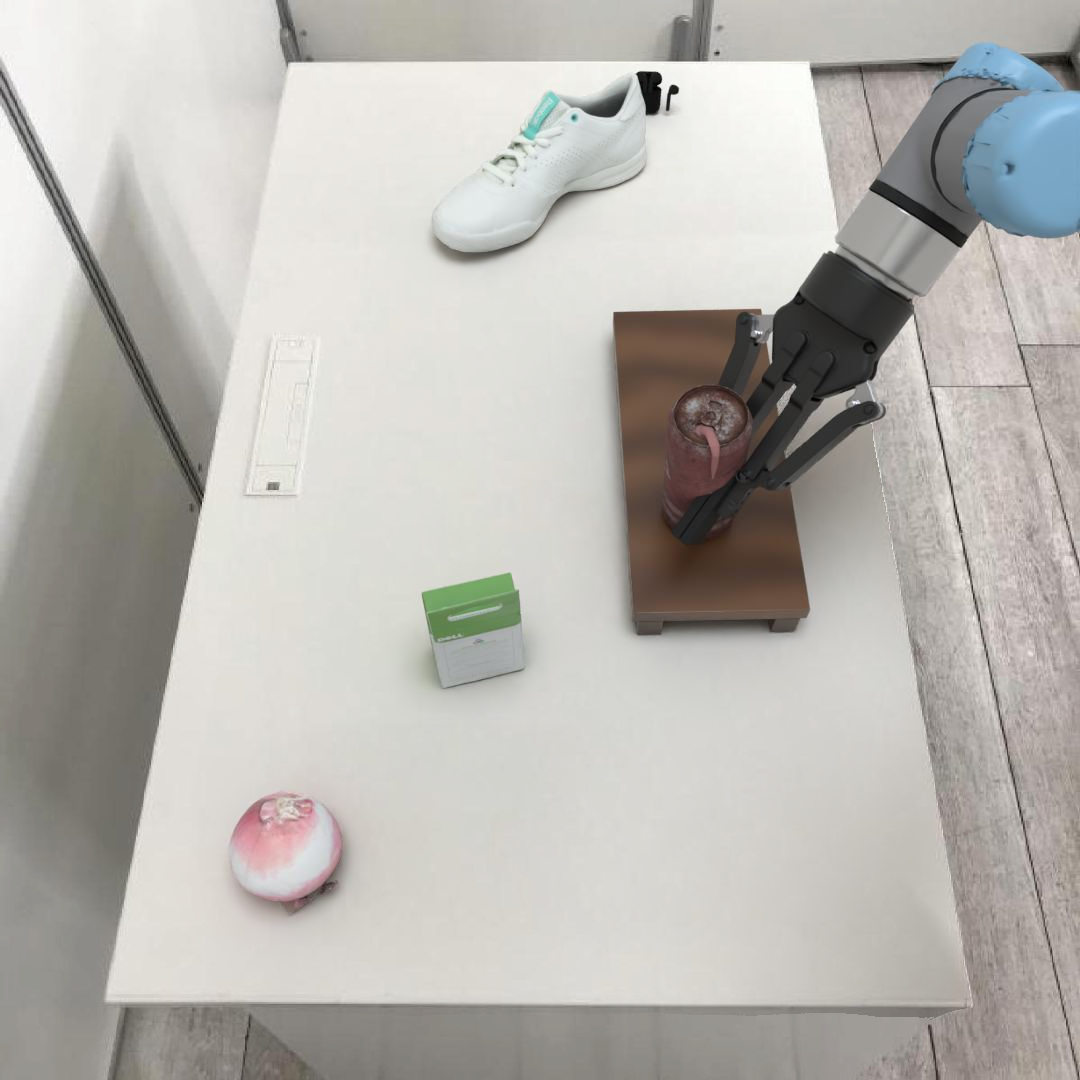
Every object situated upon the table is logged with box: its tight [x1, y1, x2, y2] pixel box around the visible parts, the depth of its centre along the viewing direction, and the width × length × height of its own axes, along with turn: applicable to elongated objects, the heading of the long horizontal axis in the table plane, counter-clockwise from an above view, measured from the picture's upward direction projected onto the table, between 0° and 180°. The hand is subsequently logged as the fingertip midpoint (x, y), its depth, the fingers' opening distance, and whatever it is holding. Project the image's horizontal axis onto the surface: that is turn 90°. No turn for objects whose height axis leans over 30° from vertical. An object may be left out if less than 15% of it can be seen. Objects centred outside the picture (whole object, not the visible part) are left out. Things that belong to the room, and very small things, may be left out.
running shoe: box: [430, 72, 647, 253], centre depth 110 cm, size 10×27×12 cm, turn 129°
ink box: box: [421, 571, 526, 689], centre depth 81 cm, size 7×4×13 cm, turn 104°
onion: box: [228, 791, 343, 915], centre depth 76 cm, size 8×8×7 cm
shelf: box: [612, 308, 811, 636], centre depth 94 cm, size 32×14×4 cm, turn 1°
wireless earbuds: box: [635, 70, 680, 114], centre depth 120 cm, size 7×2×5 cm, turn 87°
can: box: [662, 384, 752, 540], centre depth 82 cm, size 6×6×14 cm
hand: (686, 538), depth 83 cm, fingers closed
